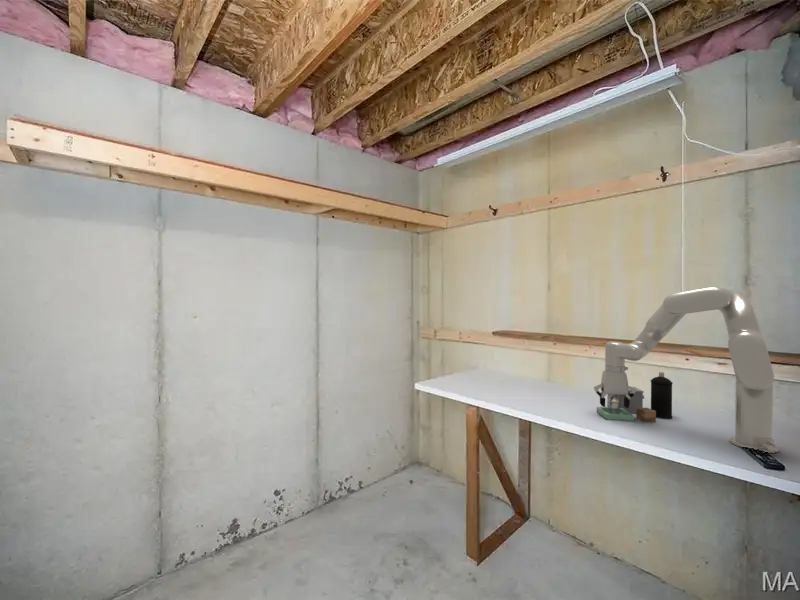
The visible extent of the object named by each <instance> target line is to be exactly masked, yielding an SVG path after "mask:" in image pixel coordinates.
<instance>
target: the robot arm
mask: <svg viewBox="0 0 800 600" xmlns="http://www.w3.org/2000/svg"><path fill="white" fill-rule="evenodd" d="M716 310H718V311H720V312H721V313H722V315H723V319H724V323H725V327H726V330H727V335H728V340H727V347H728V351H729V355H730V359H731V363H732V368H733V371H734V376H735V401H734V402H735V404H734V405H735V407H734V408H735V409H734V411H735V415H734V416H735V417H734V419H735V420H734V422H735V423H734V435H732V436H730V437H729V439H728V440H729V442H730V443H731V444H732V445H735V446H737V447H739V446H740V447H739V448H742V447H749V448H754V449H759V450H763V451H766V452H768V454H775V452H776V453H778V452H779V449H780V446H779V445H777V444H775V439H774V438H773V406H774V404H773V403H774V401H773V400H774V399H773V398H774V389H773V387H774V384H773V383H774V381H775V374H774V370H773V366H772V363H771V359H770V355H769V350H768V347H767V344H766V341H765V339H764V337H763V336H762V333H761V330H760V326H759V323H758V321H757V316H756V313H755V310H754V308H753V306H752V304H751V303H750V302H749V300H748V299H747V298H746V297H744V296H743V295H742V294H740V293H738V292H737V291H734V290H731V289H727V288H723V287H720V286H711V287H705V288H699V289H698V288H697V289H694V290H692V289H691V290H689V291H687V290H686V291H681V292H674V293H671V294H669V295H667V296H666V297H665V298H664V299H663V302H662V304H661V305H660V306H659V307H658V309H657V310H656V311H655V312H654V313H653V314H652V315H651V316H649V318H648V319H647V321H646V323H645V326H644V328H643V329H642V331H641V332H640V334H639V335H637V337H636V338H635V339H634V340H633V341H632V342H630V343H624V342H621V341H607V342H606V343H605V352H604V354H605V356H604V357H605V359H604V360H605V361H604V362H605V364H604V370H603V371H602V374H601V378H600V379H601V382H600V384H598V385H595V386H593V390H594V391H595V393H596V395H597V396H598V397H599V404H600V405H601V407H606V397H607V396H608V394H614V395H624V396H625V397H624V406H625V407H626V408H629V405H630V399H631V397H633V396H634V394H635V392H636V389H634V388H632V387H633V386H629V381H628V375H627V373H626V371H629V366H628V367H627V366H626V364H625V362H626V360H627V361H633V362H636V361H640V360H642V359H644V358H645V357H647V356H648V355H649V353H650V352H651V351H652V350H653V349H654V348H655V347H656V346H657V345H658V344H659V342H660V341H661V340H662V339H663V338H665V337H666V336H667V335H668V334H669V332H670V331H671V330H672V329H673V328H675V326H677V324H678V323H680V321H681V319H683V318H684V317H685V316H686V315H687V314H693V313H701V312H709V311H716ZM628 389H630V390H631V392H630V393H629V394H628ZM599 390H600V391H601V392H600V391H599Z"/></svg>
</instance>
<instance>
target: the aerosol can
mask: <svg viewBox="0 0 800 600" xmlns="http://www.w3.org/2000/svg"><path fill="white" fill-rule="evenodd" d="M673 384H674V383H673V381H671V379H670V378H667V377H665V372H662V371H659V372H658V376H656V377H652V379H650V409H652V410H654V411H656V419H657V418H658V419H663V420H672V419H673Z"/></svg>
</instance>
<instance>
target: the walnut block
mask: <svg viewBox="0 0 800 600" xmlns="http://www.w3.org/2000/svg"><path fill="white" fill-rule="evenodd" d="M635 419H636V420H638V421H640V422H642V423H644V422H645V424H649V423H657V417H656V411H654V410H652V409H651V408H649V407H643V408H636V414H635Z"/></svg>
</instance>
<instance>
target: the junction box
mask: <svg viewBox="0 0 800 600" xmlns="http://www.w3.org/2000/svg"><path fill="white" fill-rule="evenodd" d="M631 387H632V388H634V389H636V392H635V394H634V396H633V397H631V399H630V405H629V408H626V407H625V406H624V397H625V396H624V395H614V394H607V400H606V403H607V404H606V405H607V406H606V407H609V397H610V396H617V397H618V398H619V400H620V403H619V408H623V409H624V410H626V411H627V412H629V413H630V414H635V413H636V408H644V407H643V406H644V405H643V402H644V399H645V395H644V391H643V390H642V389H640V388H638V387H636V386H631ZM630 392H631V390H630V389H628V394H629V393H630Z"/></svg>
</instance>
